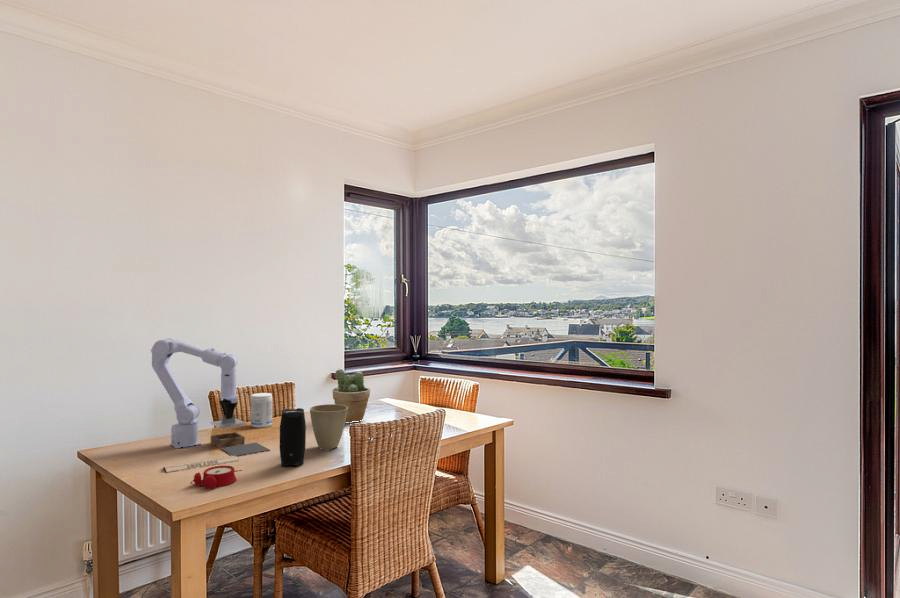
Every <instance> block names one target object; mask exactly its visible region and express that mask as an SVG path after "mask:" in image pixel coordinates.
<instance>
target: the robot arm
mask: <svg viewBox="0 0 900 598" xmlns="http://www.w3.org/2000/svg"><path fill="white" fill-rule="evenodd" d="M150 352H151V367H152V369H153V370H154V372H155V374H156V375H157V377H158V380H160V382H161V385H163V387H164V389H165V390H166V393H167V394H168V396H169V398H170V400H171V401H172V403H173V405H174V406H173V407H174V411H175V414H176V420H177V423H176V424H172V426H171V429H170V430H171V431H170V432H171V434H170V435H171V436H170V446H172V447H173V446H174V449H181V447H183V448H188V446H189V447H194V445H196V446H201V445H202V443H201V442H200V441H199V439H198V438H199V435H198V434H199V432H198V431H199V428H198V427H199V420H198V417H199V415H200V411H201V410H200V407H199V405H197V404H195V403H194V402H193V400H191V399H190V398H189V397H188V396H187V395H186V393H185V391H184V389H183V387H182V386H181V384H180V383H179V381H178V380H177V378H176V376H175V375H174V373H173V371H172V369H171V367H170V366H169V364H168V363H169V361H170V359H171V357H172V356H173V354H176V353H183V354H188V355H192V356H195V357H198V358H201V360H202V362H204V363H206V364H209V365H212V366H215V367H218V368H220V369H221V371H220V372H221V374H220V393H219V399H222V400H218V402H219V404H220V406H221V410H222V415H226V419H232V417H233V414H235V413H234V412H235V409H236V408H237V407H236V406H237V405H238V404H239V402H238V397H239V396H240V395H239V394H237V373H236V372H237V365H238V359H237V357H236V356H235V355H233V354H227V352H220V351H218V350H216V348H214V347H212V348H207V349H202V348H200V347H196V346H195V345H191V344H189V343H186V342H185V341H181V340H178V339H172V338H165V339H159V340H157V341H155V342H154V344H153V345H152V348H151V349H150Z"/></svg>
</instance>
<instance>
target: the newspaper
mask: <svg viewBox="0 0 900 598" xmlns="http://www.w3.org/2000/svg"><path fill="white" fill-rule="evenodd" d="M233 461H236V462H239V459H238V457H236V456H231V455H229V456H225V457H224V456H223V457H218V458H212V459H206V460H200V461H193V462H188V463H187V462H186V463H180V464H175V465H174V464H173V465H169V466H163V468H165V469H164V470H165V471H166V474H167V473H168V472H169V473H174V472H173V471H175V472H180V471H179V470H181V471H185V470H184V469H188V470H191V469H190V468H194V469H197V468H196V467H200V468H204V467H203V466H206V467H211V466H210V465H212V466H217V465H216V464H218V465H222V464H221V463H224V464H228V463H227V462H230V463H234V462H233ZM163 468H162V469H163Z"/></svg>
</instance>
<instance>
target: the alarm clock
mask: <svg viewBox="0 0 900 598" xmlns="http://www.w3.org/2000/svg"><path fill="white" fill-rule="evenodd" d="M242 471H243V469H240V470H239V469H238V470H235V467H234V466H232V465H231V466H230V465H214V466H210V467H208V468H206V469H204V470H203V473H202V474H203V477H202V475H201V473H200V472H196V473H195V474H194V475H193V479H192V481H191V482H190V484H191V485H193V486H196V487H201V486H203V487H204V488H205V489H207V490H213V489H215V488H218V487H219V488H220V487H226V486H229V485H231V483H232V484H234V483H235V482H236V481H237V477H236V475H235V472H237V473H238V472H242ZM233 482H234V483H233Z"/></svg>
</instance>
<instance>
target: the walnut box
mask: <svg viewBox="0 0 900 598" xmlns="http://www.w3.org/2000/svg"><path fill="white" fill-rule="evenodd" d="M210 443H211V444H212V443H213V444H214V446H215V445H216V446H215V447H216V448H218V447H219V448H218V449H221V447H223V448H225V447H226V446H229V447H231V446H233V445H235V446H237V445H239V444H241V445H243V444H245V436H244V435H242V434H240V433H239V432H236V431H235V432H234V431H233V432H228V433H227V432H226V433H221V434H219V433H218V434H213V435H210ZM213 444H212V445H213Z"/></svg>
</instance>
